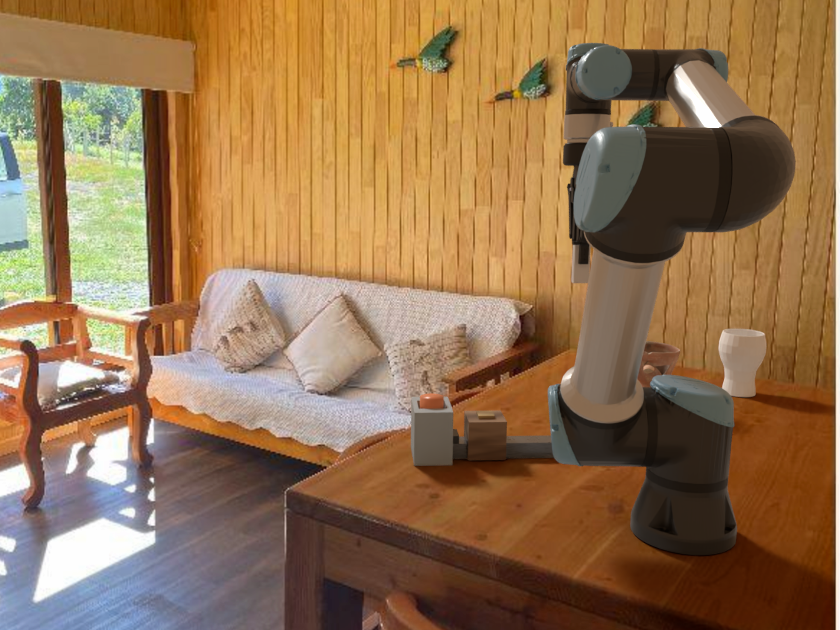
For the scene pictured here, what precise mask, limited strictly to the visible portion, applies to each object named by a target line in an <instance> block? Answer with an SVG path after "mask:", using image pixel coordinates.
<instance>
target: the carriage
mask: <svg viewBox="0 0 840 630" xmlns="http://www.w3.org/2000/svg"><path fill="white" fill-rule="evenodd" d="M463 411H464V414H463V415H464V417H463V418H464V420H463V425H464V426H463V437H466V440H467V443H468V453H467V458H468V459H467V461H506V459H507V458H506V440H507V436H508V435H507V434H508V433H507V432H508V431H507V430H508V421H507V419H506V417H505V416H504V413H503V412H502V410H463Z"/></svg>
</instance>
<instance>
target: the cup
mask: <svg viewBox="0 0 840 630" xmlns="http://www.w3.org/2000/svg"><path fill="white" fill-rule="evenodd" d="M721 331H722V332H721V334H720V337H719V340H718V354H719V357H720V361H721V363H722V365H723V367H724V368H723V370H724V380H723V383H722V387H721V388H722V389H724V390H725V391H727V392H728V393H729V394H730V395H731V397H739V398H751V397H755V396H756V374H757V371H758V369H759V367H760V366H761V364H762V363H763V361H764V359H765V356H766V353H767V340H766V333H764V332H762V331H760V330H755V329H747V328H726V329H723V330H721Z"/></svg>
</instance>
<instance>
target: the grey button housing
mask: <svg viewBox="0 0 840 630" xmlns="http://www.w3.org/2000/svg"><path fill="white" fill-rule="evenodd" d="M410 403H411V405H410V408H411V410H410V412H411V413H410V449H411V450H410V451H411V456H412V461H413V466H414V467H417V466H418V467H419V466H420V467H421V466H426V467H427V466H453V460H454V459H453V429H454V411H453V407H452V404H451V402H450V399H449V397H448V396H444V408H442V409H420V396H411V399H410Z"/></svg>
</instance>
